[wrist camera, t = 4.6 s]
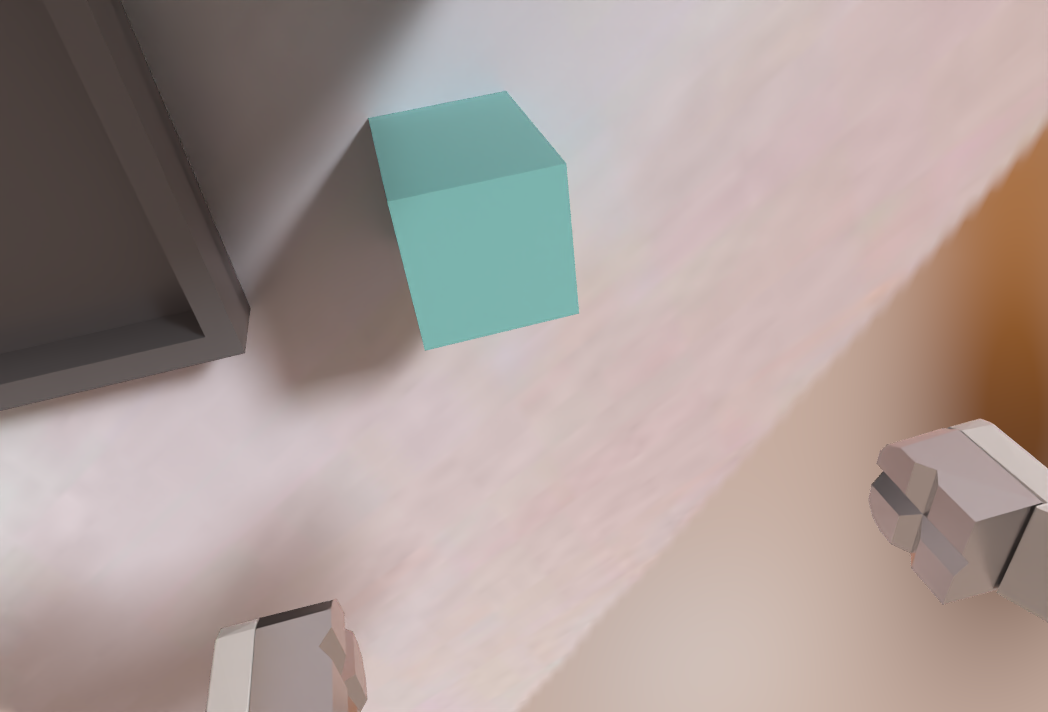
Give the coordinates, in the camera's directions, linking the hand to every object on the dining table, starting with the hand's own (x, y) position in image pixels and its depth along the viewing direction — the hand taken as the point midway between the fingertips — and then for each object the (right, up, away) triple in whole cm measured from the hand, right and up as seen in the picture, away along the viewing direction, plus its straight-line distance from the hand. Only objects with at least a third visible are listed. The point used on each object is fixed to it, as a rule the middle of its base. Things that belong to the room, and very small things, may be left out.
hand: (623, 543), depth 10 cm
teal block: (-4, +8, +11) cm, 14 cm away
